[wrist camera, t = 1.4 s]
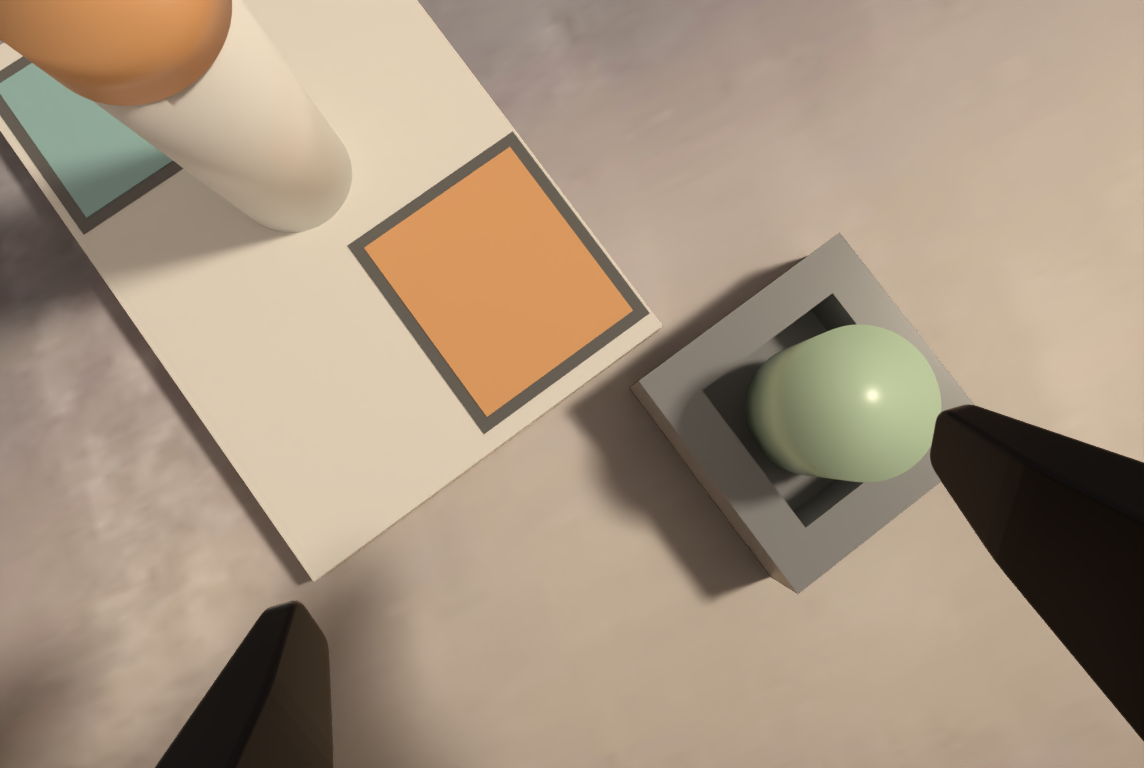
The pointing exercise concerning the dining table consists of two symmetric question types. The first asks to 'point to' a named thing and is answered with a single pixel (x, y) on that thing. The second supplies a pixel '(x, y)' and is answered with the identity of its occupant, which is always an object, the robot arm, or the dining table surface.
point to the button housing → (723, 441)
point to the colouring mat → (346, 275)
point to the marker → (195, 96)
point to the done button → (845, 405)
